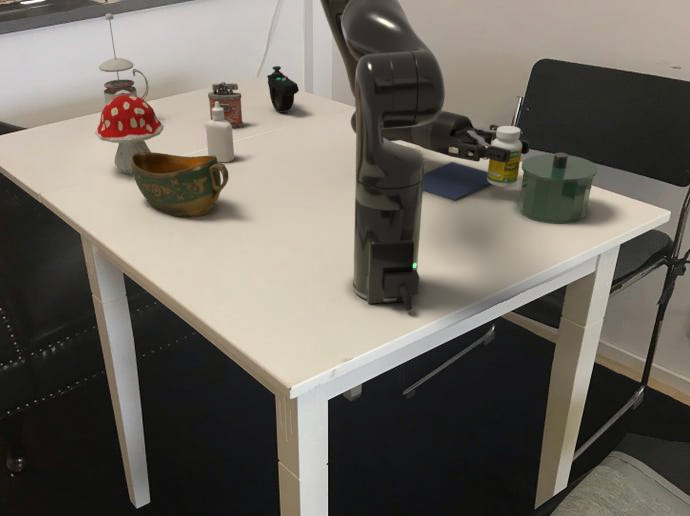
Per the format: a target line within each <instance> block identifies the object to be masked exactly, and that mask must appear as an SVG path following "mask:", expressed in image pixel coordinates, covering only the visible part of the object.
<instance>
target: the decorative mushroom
mask: <svg viewBox="0 0 690 516" xmlns="http://www.w3.org/2000/svg"><path fill="white" fill-rule="evenodd" d="M143 99H144V98H142V99H141V97H140V96H138V95H137V96H133V95H121V96H118V97H116V98H114V99H112V100H111V101H110V102H109V103H108V104H107V105H106V104H105V106H104V108H103V109H102V111H101V113H100V120H99V124H98V126H97V128H96V130H95V132H94V133H95V135H96V136H97V137H98V138H99V139H100V140H101V141H102V142H103V141H104V142H108V143H112V144H118V145H117V150H116V152H115V155H114V165H115V166H116V167H117V168H118V170H119V171H120V173H123V174H126V175H133V171H132V164H131V158H132V156H133V155H134V154H136V153H143V152H152V151H151V150H150V148H149V147H148V145H147V143H146V141H147V140H151V139H153V138H155V137H157V136H160V135H161V133H162V132H163V130H164V127H165V125H164V124H163V123H162V122H161V120H159V119H158V117H157V115H156V113H155V110H154V108H153V107H152V106H151V105H150V104H149V103H148V102H147V101H146V100H145V99H144V100H143Z"/></svg>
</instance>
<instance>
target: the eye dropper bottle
mask: <svg viewBox="0 0 690 516" xmlns="http://www.w3.org/2000/svg"><path fill="white" fill-rule="evenodd" d="M212 119H213V120H211V119H210V120H209V121H207V122H206V124H205V131H206V132H205V133H206V143H207V156H209V155H215V156H216V158H217V161H218V163H229V162H232V161H233V160H235V149H234V148H235V147H234V137H233V134H234V133H233V128H232V126H231V124H230V123H229V122H228V121H226V120H224V110H223V108H221V107H220V105H219V102H215V107H214V108H213V109H212Z"/></svg>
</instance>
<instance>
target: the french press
mask: <svg viewBox="0 0 690 516" xmlns="http://www.w3.org/2000/svg"><path fill="white" fill-rule="evenodd" d="M104 19H105V20H106V21H109V26H110V28H109V29H110V35H111V41H112V48H113V56H114V57H113V58H110V59H107V60H105V61H103V62H102V63H101V64H100V65H99V67H98V69H99V70H100V71H101V72H105V73H116V75H117V79H112V80H109V81H106V82H104V84H103V86H104V88H106V89H104V90H103V96H104V103H105V106H106V105H107V104H108V103H109V102H110V101H111V100H112V99H114V98H116V97H118V96H121V95H133V96H137V97H138V91H137V88H136V87H135V86H134V85H135V80H132V79H120V76H119V72H125V71H129V70H132V75H133V77H136V73H138V74H140V75H141V76H142V77H143V78H144V81H145V92H144V94H143V95H142V96H141V97H140V98H141V99H143V100H144V101H145V99H146V98H147V96H148V93H149V81H148V79H147V77H146V76H145V74H144V73H143V72H142V71H141V70H139V69H136V68H133V67H134V64H135V63H134V62H132V61H130V60H129V59H126V58H122V57H116V56H117V55H116V51H115V43H114V37H113V29H112V23H111V20H114V15H113V14H112V13H106V14H105V15H104ZM121 91H126V92H121ZM119 92H120V93H119Z"/></svg>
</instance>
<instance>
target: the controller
mask: <svg viewBox="0 0 690 516" xmlns="http://www.w3.org/2000/svg"><path fill="white" fill-rule="evenodd" d="M281 69H282V66H279V65H275V66H272V70H273V72H272V73H271V74H268V75H267V76H266V77H267V86H268V89H269V98H270V102H271V104H272V107H273V108H274V109H275V111H277V112H279V113H285V112H288V111H291V109H292V108H293V107H294V102H295V94H297V93H299V91H300V89H299V86H298V83H296V82H295V81H293V80H292V79H290V78H289V77H288V76H287V75H284V73H283V72H282V71H281Z"/></svg>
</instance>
